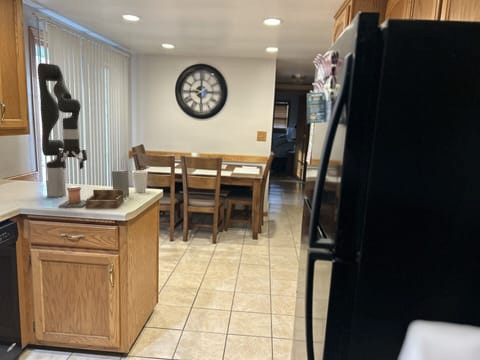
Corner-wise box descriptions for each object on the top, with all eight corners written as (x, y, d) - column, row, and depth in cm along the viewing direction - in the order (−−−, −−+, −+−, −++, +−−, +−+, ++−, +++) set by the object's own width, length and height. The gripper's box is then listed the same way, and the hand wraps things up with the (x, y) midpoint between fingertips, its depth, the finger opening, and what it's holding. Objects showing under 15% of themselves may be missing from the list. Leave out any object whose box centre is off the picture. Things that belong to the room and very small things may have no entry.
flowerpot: (66, 204, 182) (65, 188, 181) (70, 201, 189) (69, 186, 187) (79, 204, 183) (78, 188, 181) (83, 201, 189) (82, 186, 188)
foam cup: (134, 189, 228) (134, 170, 226) (148, 189, 229) (148, 170, 227) (131, 192, 219) (130, 172, 217) (146, 192, 220) (145, 172, 217)
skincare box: (122, 197, 205) (121, 171, 202) (111, 196, 206) (110, 170, 203) (129, 194, 213) (129, 169, 210) (119, 194, 214) (118, 168, 211)
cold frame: (85, 208, 180) (85, 195, 179) (94, 201, 194) (93, 189, 192) (117, 208, 181) (116, 195, 180) (123, 201, 195) (123, 189, 194)
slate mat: (58, 207, 179) (58, 205, 179) (67, 202, 191) (67, 200, 191) (82, 207, 181) (82, 205, 180) (90, 202, 192) (90, 200, 192)
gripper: (53, 138, 175) (55, 169, 178) (82, 138, 177) (84, 169, 179) (59, 137, 182) (61, 167, 185) (87, 137, 184) (89, 167, 187)
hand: (72, 168), depth 182 cm, fingers open, 8 cm apart
